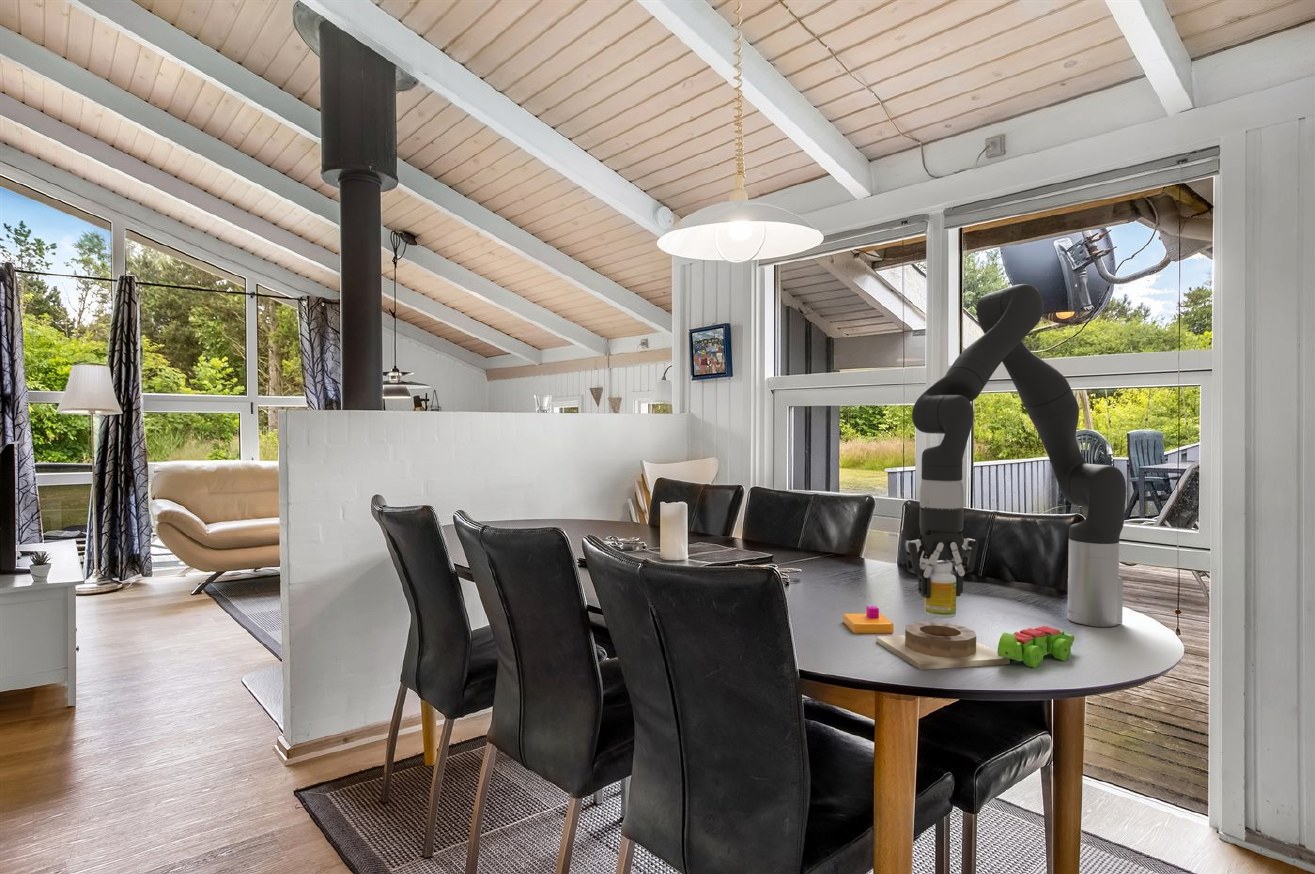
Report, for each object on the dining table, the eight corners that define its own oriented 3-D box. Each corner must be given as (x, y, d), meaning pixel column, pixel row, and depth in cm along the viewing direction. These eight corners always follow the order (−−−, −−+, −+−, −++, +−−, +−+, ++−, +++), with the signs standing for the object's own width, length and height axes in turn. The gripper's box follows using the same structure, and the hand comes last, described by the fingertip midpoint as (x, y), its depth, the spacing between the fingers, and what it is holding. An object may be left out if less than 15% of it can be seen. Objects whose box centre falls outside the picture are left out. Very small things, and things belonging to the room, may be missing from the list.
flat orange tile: (893, 634, 149) (893, 613, 149) (853, 635, 149) (854, 614, 149) (881, 623, 157) (881, 603, 157) (843, 624, 157) (843, 604, 157)
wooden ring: (951, 635, 143) (951, 620, 143) (989, 655, 132) (990, 638, 132) (893, 638, 141) (893, 623, 141) (927, 659, 129) (927, 642, 129)
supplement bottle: (958, 619, 133) (959, 565, 133) (926, 617, 134) (927, 564, 134) (952, 611, 138) (953, 559, 138) (922, 610, 140) (923, 558, 139)
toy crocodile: (1051, 646, 141) (1051, 614, 140) (1085, 656, 135) (1086, 622, 135) (982, 662, 131) (982, 628, 131) (1016, 674, 125) (1017, 638, 125)
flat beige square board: (957, 637, 146) (957, 631, 146) (1009, 663, 130) (1009, 658, 130) (876, 641, 143) (876, 636, 143) (920, 669, 127) (920, 663, 127)
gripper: (965, 501, 141) (964, 589, 141) (894, 502, 138) (894, 593, 139) (989, 505, 133) (988, 599, 134) (915, 507, 131) (914, 603, 131)
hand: (940, 595), depth 136 cm, fingers closed on supplement bottle, 5 cm apart
